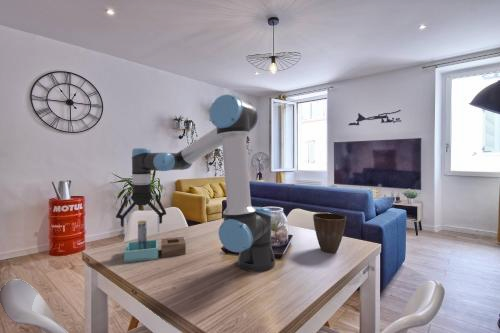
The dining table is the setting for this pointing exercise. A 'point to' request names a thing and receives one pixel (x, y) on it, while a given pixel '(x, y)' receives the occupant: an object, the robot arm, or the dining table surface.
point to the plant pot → (329, 230)
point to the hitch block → (173, 246)
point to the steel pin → (142, 235)
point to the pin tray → (141, 251)
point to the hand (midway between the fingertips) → (142, 232)
